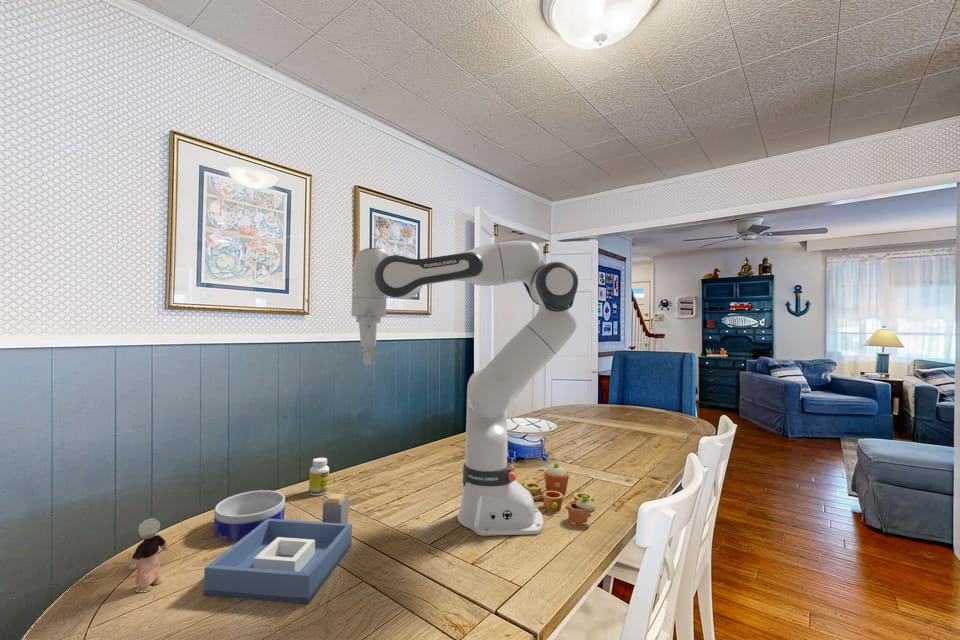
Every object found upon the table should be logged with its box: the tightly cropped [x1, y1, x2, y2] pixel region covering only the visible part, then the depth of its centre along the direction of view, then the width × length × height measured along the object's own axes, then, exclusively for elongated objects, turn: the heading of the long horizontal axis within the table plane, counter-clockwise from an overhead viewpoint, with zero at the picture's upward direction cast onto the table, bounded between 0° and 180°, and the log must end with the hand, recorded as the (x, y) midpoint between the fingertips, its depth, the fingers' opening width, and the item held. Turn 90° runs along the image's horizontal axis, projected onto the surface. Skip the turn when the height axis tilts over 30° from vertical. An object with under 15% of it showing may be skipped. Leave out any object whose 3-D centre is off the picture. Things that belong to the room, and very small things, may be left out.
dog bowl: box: [213, 489, 286, 542], centre depth 104 cm, size 15×15×6 cm
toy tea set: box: [521, 462, 596, 525], centre depth 122 cm, size 26×16×10 cm, turn 33°
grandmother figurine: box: [128, 517, 169, 592], centre depth 80 cm, size 8×4×13 cm, turn 5°
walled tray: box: [203, 519, 353, 605], centre depth 87 cm, size 20×20×5 cm
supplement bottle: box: [308, 457, 330, 497], centre depth 126 cm, size 5×5×10 cm
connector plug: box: [322, 492, 350, 524], centre depth 102 cm, size 4×4×9 cm
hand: (367, 362), depth 112 cm, fingers open, 8 cm apart
